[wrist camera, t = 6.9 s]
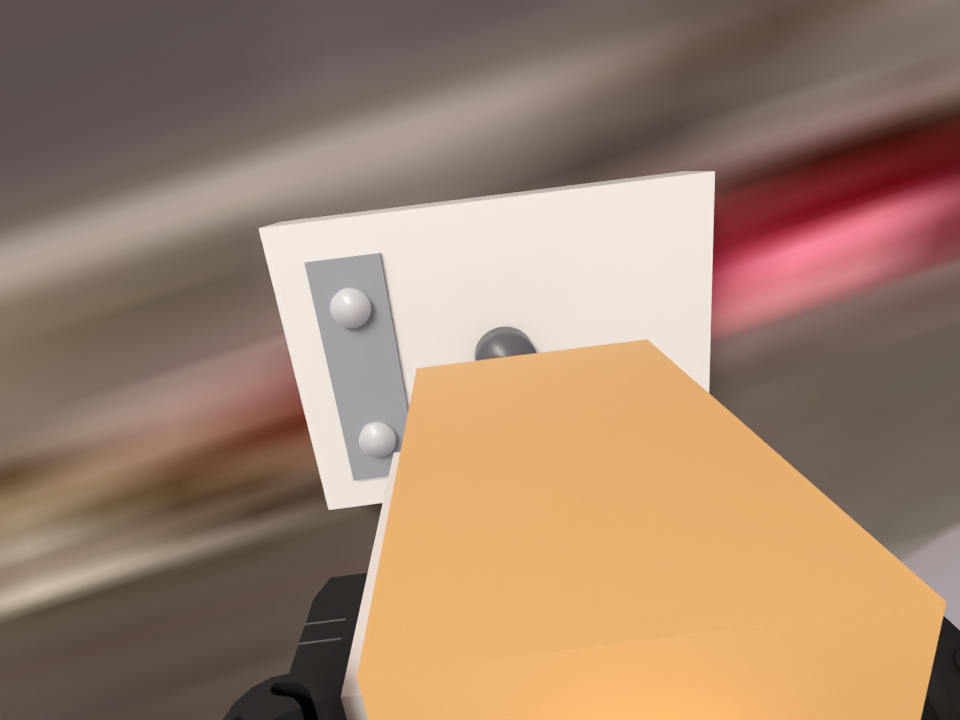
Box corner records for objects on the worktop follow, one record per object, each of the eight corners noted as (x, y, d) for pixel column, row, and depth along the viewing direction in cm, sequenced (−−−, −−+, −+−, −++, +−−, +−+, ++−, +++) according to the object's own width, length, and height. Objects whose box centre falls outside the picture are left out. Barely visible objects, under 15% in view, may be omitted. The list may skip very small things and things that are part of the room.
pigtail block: (340, 476, 28) (307, 568, 22) (281, 221, 24) (216, 240, 17) (681, 431, 28) (751, 510, 22) (683, 171, 24) (772, 171, 17)
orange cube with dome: (448, 557, 16) (436, 1279, 6) (416, 368, 14) (304, 945, 4) (649, 531, 16) (1012, 1203, 6) (647, 339, 14) (1205, 828, 4)
